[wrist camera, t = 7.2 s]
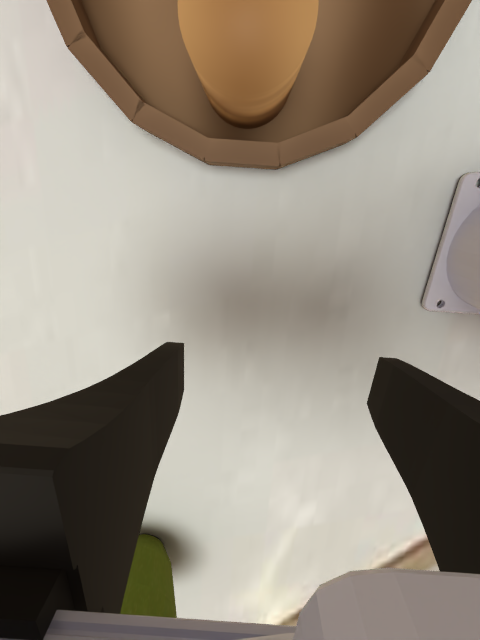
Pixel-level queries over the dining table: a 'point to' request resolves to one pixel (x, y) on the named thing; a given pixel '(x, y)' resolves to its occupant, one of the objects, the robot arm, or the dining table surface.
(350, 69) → the ring tray
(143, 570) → the apple
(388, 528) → the dining table surface
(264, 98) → the brown wooden cylinder
